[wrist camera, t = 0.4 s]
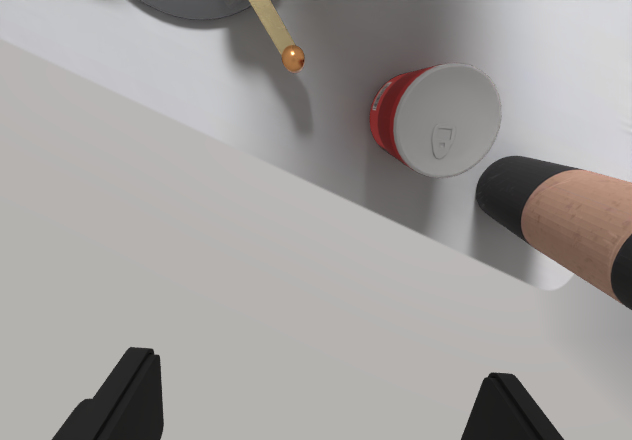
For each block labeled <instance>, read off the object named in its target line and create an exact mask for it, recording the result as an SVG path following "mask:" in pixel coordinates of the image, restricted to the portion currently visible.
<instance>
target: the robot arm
mask: <svg viewBox="0 0 632 440" xmlns="http://www.w3.org/2000/svg"><path fill="white" fill-rule="evenodd" d="M163 426H164V422H163V403H162V385H161V366H160V356H159V355H154V351H153V349H149V348H135V347H130V348H129V349H128V350H127V351H126V352H125V354H124V355H123V357H122V358H121V359H120V361H119V362H118V364H117V365H116V366H115V368H114V369H113V371H112V372H111V373H110V375H109V376H108V378H107V379H106V381H105V382H104V383H103V385H102V386H101V387H100V389H99V390H98V392H97V393H96V395H95V396H94V397H93V399H85V400H83V401H82V402H80V404H79V405H78V406H77V407H76V408H75V409H74V410H73V412H72V413H71V415H70V416H69V417H68V419H67V420H66V421H65V423H64V424H63V425H62V427H61V428H60V429H59V431H58V432H57V433H56V435H55V436H54V437H53V439H52V440H160V439H161V436H162V432H163ZM461 440H564V439H563V438H562V436H561V435H560V434H559V433H558V431H557V430H556V428H555V427H554V426H553V425H552V423H551V422H550V421H549V419H548V418H547V417H546V415H545V414H544V413H543V411H542V410H541V409H540V407H539V406H538V405H537V404H536V402H535V401H534V400H533V398H532V397H531V396H530V394H529V393H528V392H527V390H526V389H525V388H524V387H523V385H522V384H521V383H520V381H519V380H518V379H517V378H516V376H515V375H513V374H506V373H490V374H489V376H488V377H487V378H484V380H483V382H482V385H481V388H480V390H479V393H478V396H477V398H476V401H475V403H474V406H473V409H472V412H471V414H470V417H469V420H468V422H467V425H466V428H465V430H464V433H463V435H462V438H461Z"/></svg>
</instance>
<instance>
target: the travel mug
mask: <svg viewBox="0 0 632 440" xmlns="http://www.w3.org/2000/svg"><path fill="white" fill-rule="evenodd" d="M476 195H477V201H478V203H479V205H480V207H481V208H482V210H483V211H484V212H485V213H487V214H488V215H489V216H491V217H492V218H493V219H495V220H496V221H497V222H499V223H500V224H502V225H503V226H504V227H506V228H507V229H509V230H510V231H511V232H513V233H514V234H516V235H517V236H518V237H520V238H521V239H523V240H524V241H525V242H527V243H528V244H529V245H531V246H532V247H534V248H535V249H537V250H538V251H540V252H542V253H543V254H545V255H546V256H548V257H549V258H551V259H552V260H554V261H556V262H557V263H559V264H560V265H562V266H563V267H565V268H567V269H568V270H570V271H571V272H573V273H574V274H576V275H578V276H579V277H581V278H582V279H584V280H586V281H587V282H589V283H590V284H592V285H593V286H595V287H596V288H598V289H600V290H601V291H603V292H604V293H606V294H607V295H609V296H611V297H612V298H614V299H615V300H617V301H618V302H620V303H622V304H623V305H625V306H626V307H628V308H629V309H631V310H632V183H631V182H627V181H624V180H620V179H616V178H613V177H609V176H605V175H602V174H598V173H594V172H591V171H586V170H582V169H578V168H573V167H569V166H564V165H559V164H555V163H550V162H546V161H541V160H537V159H532V158H527V157H522V156H510V157H505V158H502V159H500V160H498V161H496V162H494V163H493V164H491V165H490V166H489V167H488V168H487V169H486V170H485V171H484V173H483V174H482V176H481V177H480V179H479V182H478V185H477V190H476Z"/></svg>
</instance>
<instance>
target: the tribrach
mask: <svg viewBox="0 0 632 440" xmlns="http://www.w3.org/2000/svg"><path fill="white" fill-rule="evenodd" d="M140 1H142V2H144V3H145V4H147V5H149V6H151V7H153V8H155V9H157V10H159V11H161V12H164V13H167V14H170V15H173V16H176V17H182V18H187V19H198V20H208V19H218V18H222V17H226V16H230V15H233V14H236V13H238V12H240V11H243V10H245V9H247V8H248V7H250V6H251V3H250V2H249V0H140Z"/></svg>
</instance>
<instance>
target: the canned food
mask: <svg viewBox="0 0 632 440" xmlns="http://www.w3.org/2000/svg"><path fill="white" fill-rule="evenodd" d="M500 122H501V102H500V97H499V93H498V91H497V89H496V86H495V85H494V83H493V82H492V80H491V79H490V78H489V76H487V75H486V74H485V73H484V72H483V71H481V70H480V69H478V68H476V67H474V66H472V65H467V64H462V63H446V64H441V65H437V66H433V67H429V68H425V69H421V70H417V71H413V72H409V73H405V74H401V75H398V76H396V77H394V78H392V79H391V80H389V81H388V82H387V83H385V84H384V86H383V87H382V88H381V89H380V90H379V92H378V93H377V95H376V96H375V98H374V101H373V103H372V106H371V111H370V128H371V132H372V135H373V137H374V139H375V141H376V142H377V144H378V145H379V146H380V147H381V148H382V149H383V150H385V151H386V152H388V153H389V154H391V155H392V156H393V157H395V158H396V159H398V160H399V161H401V162H402V163H404V164H405V165H406V166H408V167H409V168H411V169H412V170H414V171H416V172H418V173H420V174H422V175H425V176H428V177H434V178H448V177H452V176H457V175H459V174H461V173H464V172H466V171H468V170H469V169H471V168H472V167H474V166H475V165H476V164H477V163H478V162H479V161H480V160H481V159H483V158H484V156H485V155H486V154H487V152H488V151H489V150H490V148H491V146H492V145H493V143H494V141H495V139H496V136H497V134H498V131H499V128H500Z"/></svg>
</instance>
